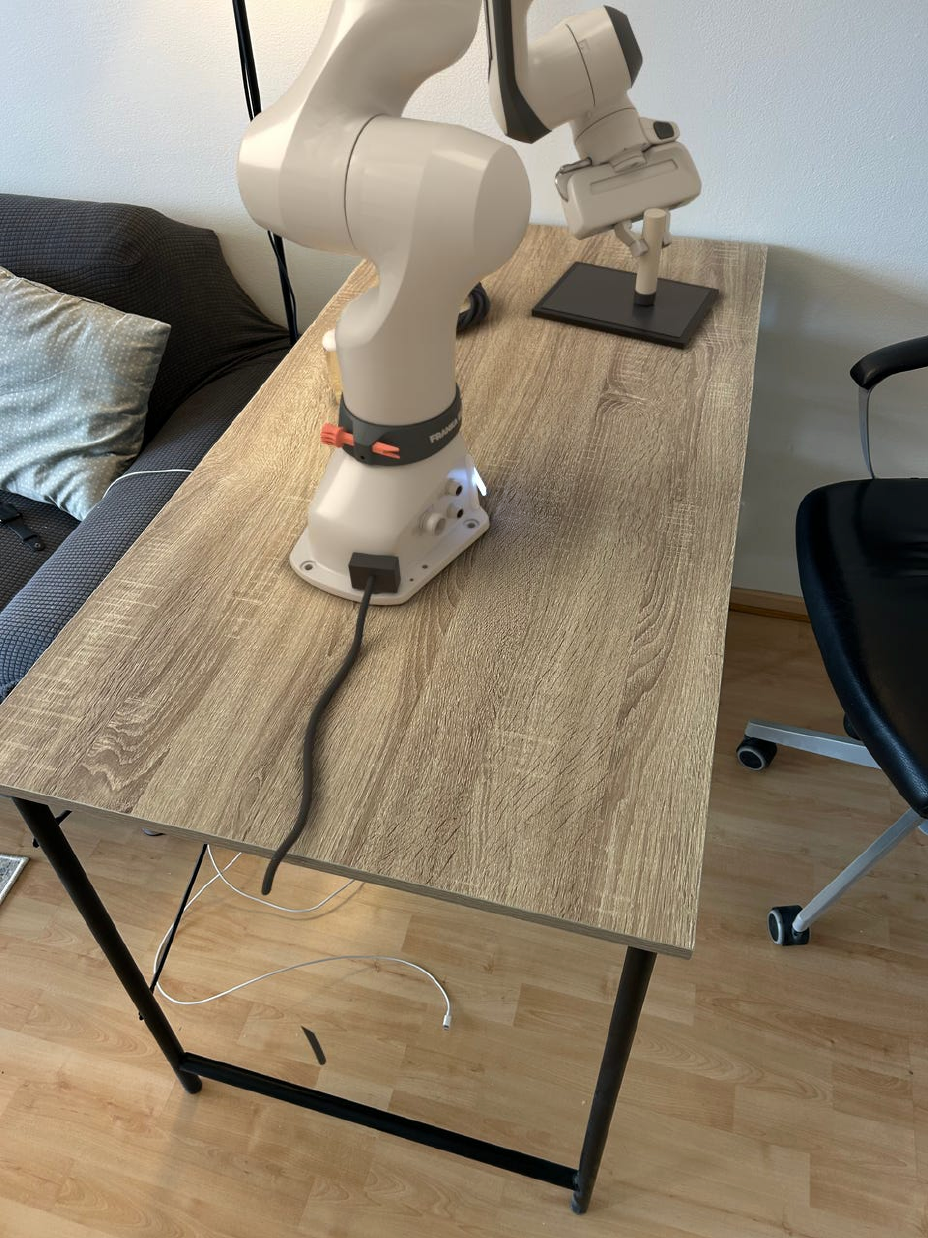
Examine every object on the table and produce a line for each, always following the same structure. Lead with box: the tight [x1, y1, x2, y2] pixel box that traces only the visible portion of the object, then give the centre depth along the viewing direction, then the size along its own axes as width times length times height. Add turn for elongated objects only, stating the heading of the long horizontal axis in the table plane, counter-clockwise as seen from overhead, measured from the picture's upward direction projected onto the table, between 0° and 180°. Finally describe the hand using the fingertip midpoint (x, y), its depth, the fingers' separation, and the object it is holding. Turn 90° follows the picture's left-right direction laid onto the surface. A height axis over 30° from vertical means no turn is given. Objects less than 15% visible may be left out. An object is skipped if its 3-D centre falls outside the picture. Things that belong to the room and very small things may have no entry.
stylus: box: [634, 208, 666, 305], centre depth 120 cm, size 3×3×12 cm
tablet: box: [531, 260, 720, 350], centre depth 126 cm, size 16×22×1 cm
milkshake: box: [321, 328, 343, 405], centre depth 109 cm, size 4×5×10 cm
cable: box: [456, 281, 491, 332], centre depth 125 cm, size 17×14×4 cm
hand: (653, 250), depth 119 cm, fingers closed on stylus, 3 cm apart
